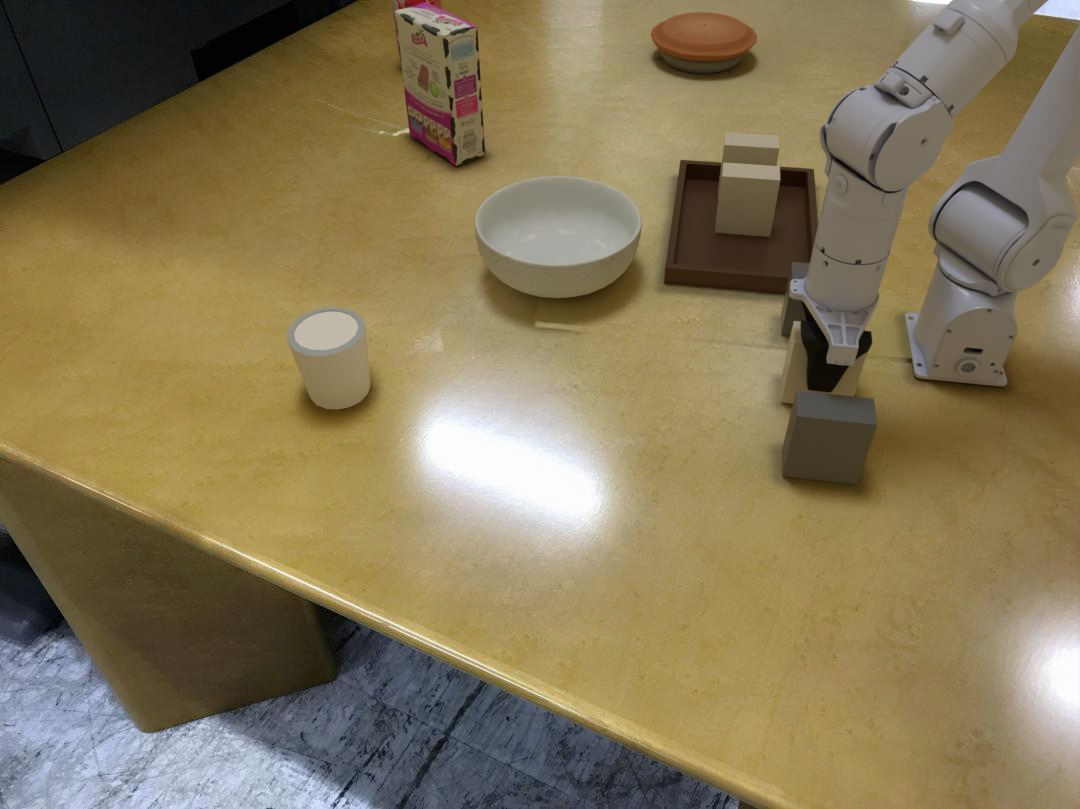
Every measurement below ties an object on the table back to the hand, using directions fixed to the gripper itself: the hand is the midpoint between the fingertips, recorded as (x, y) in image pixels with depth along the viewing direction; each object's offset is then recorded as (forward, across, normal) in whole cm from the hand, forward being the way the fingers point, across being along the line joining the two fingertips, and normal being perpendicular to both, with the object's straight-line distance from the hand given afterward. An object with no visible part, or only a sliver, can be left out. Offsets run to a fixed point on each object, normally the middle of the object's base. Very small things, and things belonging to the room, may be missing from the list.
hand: (818, 374), depth 79 cm
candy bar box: (+3, -40, -45) cm, 61 cm away
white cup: (+3, +6, -43) cm, 43 cm away
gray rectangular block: (+2, -9, 0) cm, 9 cm away
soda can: (+3, -64, -56) cm, 85 cm away
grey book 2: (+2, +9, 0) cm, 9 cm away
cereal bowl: (+3, -15, -26) cm, 30 cm away
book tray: (+2, -25, -7) cm, 26 cm away
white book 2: (+2, -26, -7) cm, 27 cm away
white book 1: (+2, -33, -7) cm, 34 cm away
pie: (+3, -73, -14) cm, 74 cm away
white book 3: (+2, 0, 0) cm, 2 cm away
